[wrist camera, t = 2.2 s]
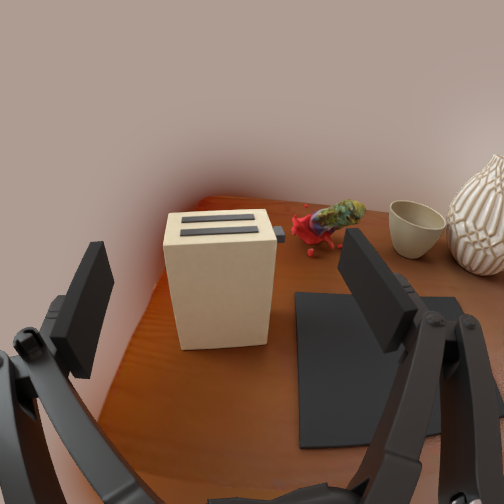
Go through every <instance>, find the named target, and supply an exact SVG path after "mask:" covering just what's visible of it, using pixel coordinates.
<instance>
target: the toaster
mask: <svg viewBox="0 0 504 504" xmlns="http://www.w3.org/2000/svg"><path fill="white" fill-rule="evenodd" d="M284 242H285V233H284V231H283V229H282V227H281V226H275V227H272V225H271V223H270V220H269V218H268V215H267V213H266V210H265V209H250V210H224V211H201V212H184V213H169V215H168V221H167V226H166V231H165V238H164V243H163V249H164V256H165V263H166V269H167V276H168V282H169V288H170V293H171V299H172V305H173V310H174V315H175V321H176V326H177V331H178V336H179V340H180V345H181V350H194V349H213V348H228V347H241V346H253V345H264V344H267V337H268V328H269V318H270V309H271V299H272V290H273V280H274V270H275V259H276V249H277V243H284Z"/></svg>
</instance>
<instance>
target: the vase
mask: <svg viewBox="0 0 504 504" xmlns="http://www.w3.org/2000/svg"><path fill="white" fill-rule="evenodd" d="M446 239H447V244H448V246H449V249H450V251H451V253H452V255H453V257H454V258H455V260H456V261H457V263H458V264H459V265H461V266H462V267H463V268H464V269H466V270H467V271H469V272H471V273H473V274H476V275H480V276H488V275H494V274H497V273H500V272H502V271H504V156H501V155H498V154H494V155H493V156H492V158H491V159H490V161H489V163H488V164H487V165H486V167H485V168H484V169H483V170H481V171H480V172H478V173H477V174H476V175H474V176H473V177H472V178H471V179H469V180H468V181H467V182H466V183H465V184H464V185H463V186H462V187H461V189H460V190H459V191H458V193H457V194H456V196H455V197H454V199H453V201H452V202H451V204H450V207H449V209H448V213H447V218H446Z"/></svg>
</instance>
